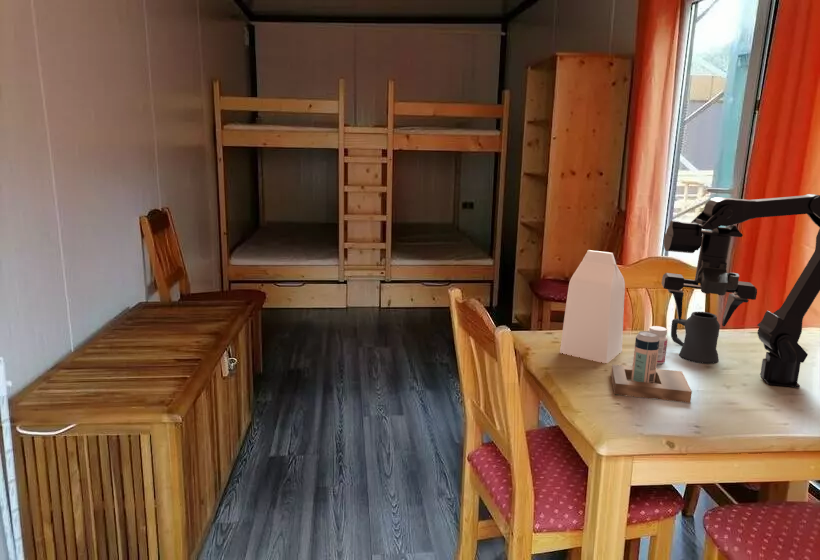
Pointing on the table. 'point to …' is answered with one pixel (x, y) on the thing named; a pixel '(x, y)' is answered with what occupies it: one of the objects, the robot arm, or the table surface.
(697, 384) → the table surface
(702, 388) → the table surface
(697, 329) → the mug
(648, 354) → the beer can
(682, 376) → the socket board
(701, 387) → the table surface
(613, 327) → the milk
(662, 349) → the pill bottle
